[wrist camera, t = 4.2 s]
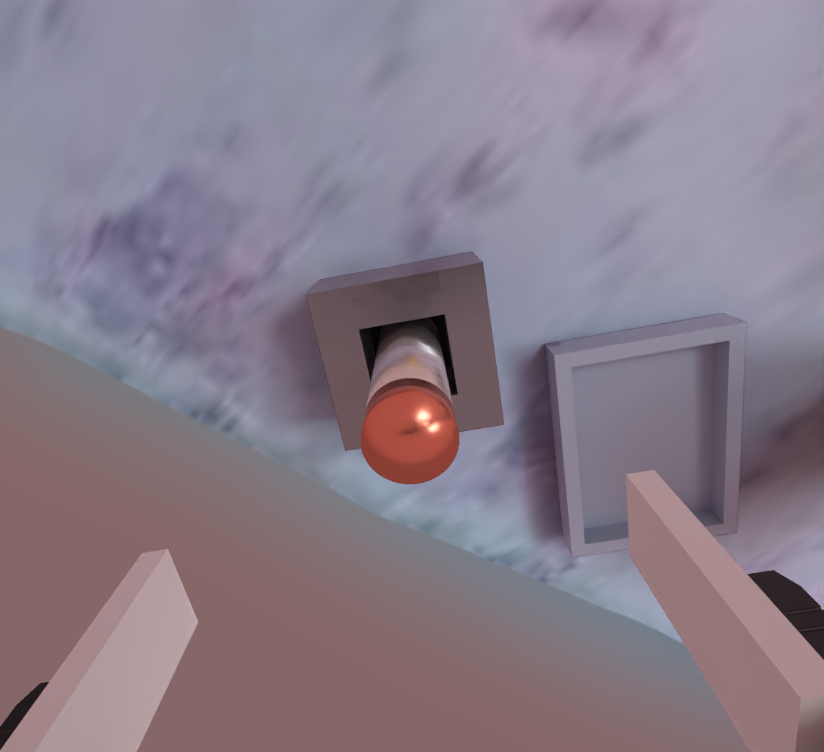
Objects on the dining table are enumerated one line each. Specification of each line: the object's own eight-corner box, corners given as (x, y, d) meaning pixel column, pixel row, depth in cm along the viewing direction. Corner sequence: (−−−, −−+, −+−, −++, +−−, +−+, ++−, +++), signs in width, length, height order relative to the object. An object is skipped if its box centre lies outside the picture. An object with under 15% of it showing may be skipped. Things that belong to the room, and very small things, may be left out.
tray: (544, 344, 35) (554, 355, 33) (723, 313, 34) (746, 322, 32) (562, 535, 41) (572, 557, 38) (717, 512, 40) (737, 532, 38)
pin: (374, 315, 34) (350, 404, 20) (433, 305, 34) (451, 388, 20) (386, 371, 36) (371, 491, 22) (443, 361, 36) (465, 475, 21)
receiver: (320, 279, 34) (305, 294, 29) (472, 251, 33) (482, 262, 28) (353, 417, 37) (345, 450, 32) (491, 393, 36) (504, 424, 32)
